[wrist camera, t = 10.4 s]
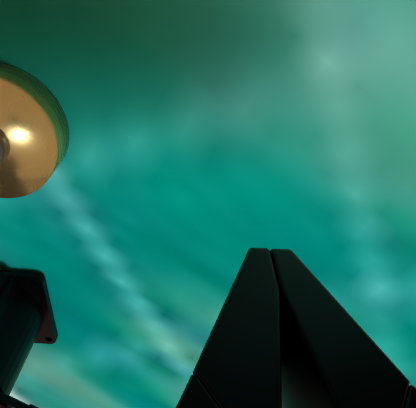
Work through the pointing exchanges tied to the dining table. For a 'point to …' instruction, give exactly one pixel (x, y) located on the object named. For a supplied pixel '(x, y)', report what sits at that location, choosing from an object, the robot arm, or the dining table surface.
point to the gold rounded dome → (28, 133)
